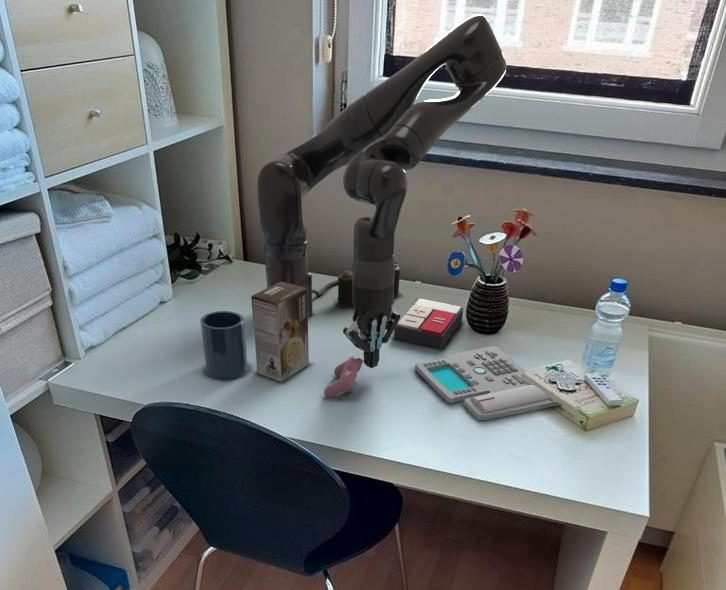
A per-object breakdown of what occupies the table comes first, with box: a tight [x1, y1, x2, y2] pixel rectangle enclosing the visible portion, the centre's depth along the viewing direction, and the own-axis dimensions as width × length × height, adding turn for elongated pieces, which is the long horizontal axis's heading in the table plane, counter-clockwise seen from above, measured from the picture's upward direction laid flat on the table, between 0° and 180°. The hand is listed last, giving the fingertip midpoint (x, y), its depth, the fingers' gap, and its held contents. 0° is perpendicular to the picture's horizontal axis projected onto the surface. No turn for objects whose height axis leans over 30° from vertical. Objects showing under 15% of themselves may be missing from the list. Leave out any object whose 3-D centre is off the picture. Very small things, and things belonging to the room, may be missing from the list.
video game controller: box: [323, 355, 364, 399], centre depth 128 cm, size 10×5×7 cm, turn 169°
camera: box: [337, 261, 401, 308], centre depth 162 cm, size 16×7×8 cm, turn 120°
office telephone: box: [414, 345, 562, 421], centre depth 131 cm, size 23×3×20 cm
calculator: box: [393, 298, 464, 350], centre depth 150 cm, size 11×4×15 cm
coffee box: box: [250, 282, 310, 383], centre depth 129 cm, size 9×6×16 cm
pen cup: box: [199, 310, 248, 381], centre depth 130 cm, size 8×8×10 cm
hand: (371, 365), depth 131 cm, fingers closed
